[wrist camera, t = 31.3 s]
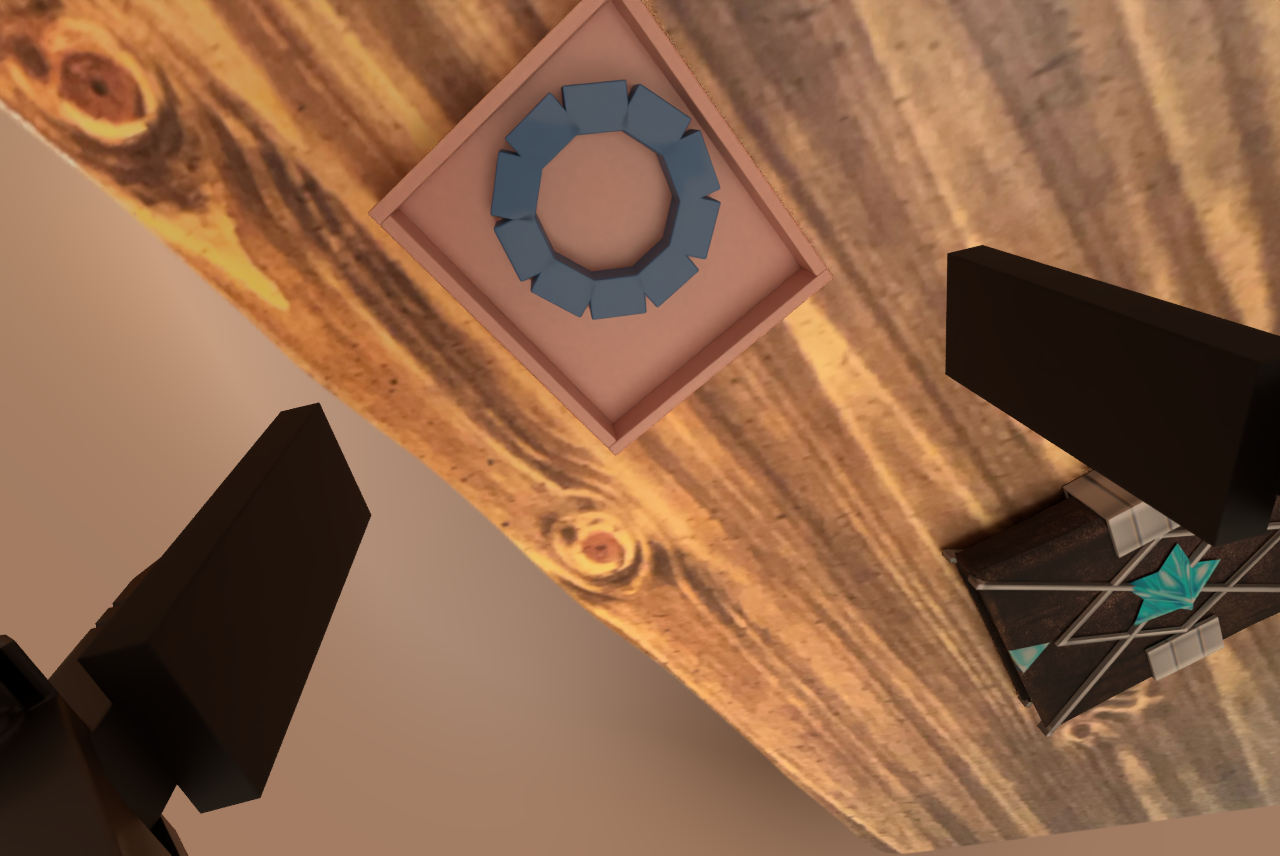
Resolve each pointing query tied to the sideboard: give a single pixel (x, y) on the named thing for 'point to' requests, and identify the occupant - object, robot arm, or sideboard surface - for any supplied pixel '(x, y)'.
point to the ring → (683, 171)
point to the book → (1111, 596)
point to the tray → (605, 231)
